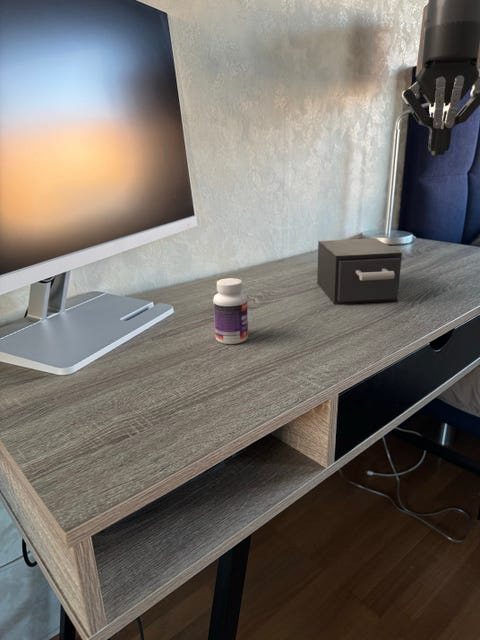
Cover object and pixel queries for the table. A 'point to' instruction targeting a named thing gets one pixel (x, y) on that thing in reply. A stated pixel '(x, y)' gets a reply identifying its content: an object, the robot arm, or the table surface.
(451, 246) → the table surface
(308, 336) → the table surface
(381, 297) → the dark drawer box
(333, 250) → the small drawer unit
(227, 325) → the pill bottle
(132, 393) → the table surface
